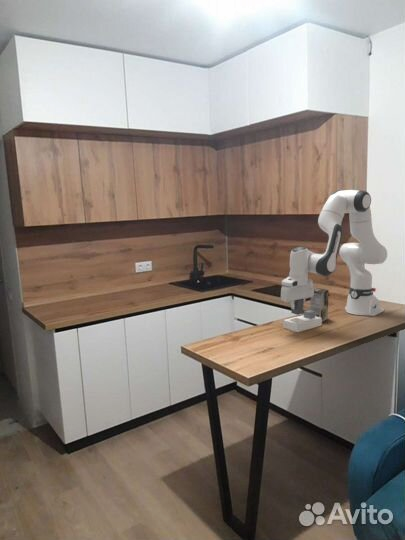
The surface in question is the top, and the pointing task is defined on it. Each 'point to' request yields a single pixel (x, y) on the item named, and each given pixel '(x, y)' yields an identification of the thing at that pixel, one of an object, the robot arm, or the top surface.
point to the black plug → (298, 307)
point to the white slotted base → (302, 322)
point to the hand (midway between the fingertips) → (297, 308)
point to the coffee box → (320, 303)
